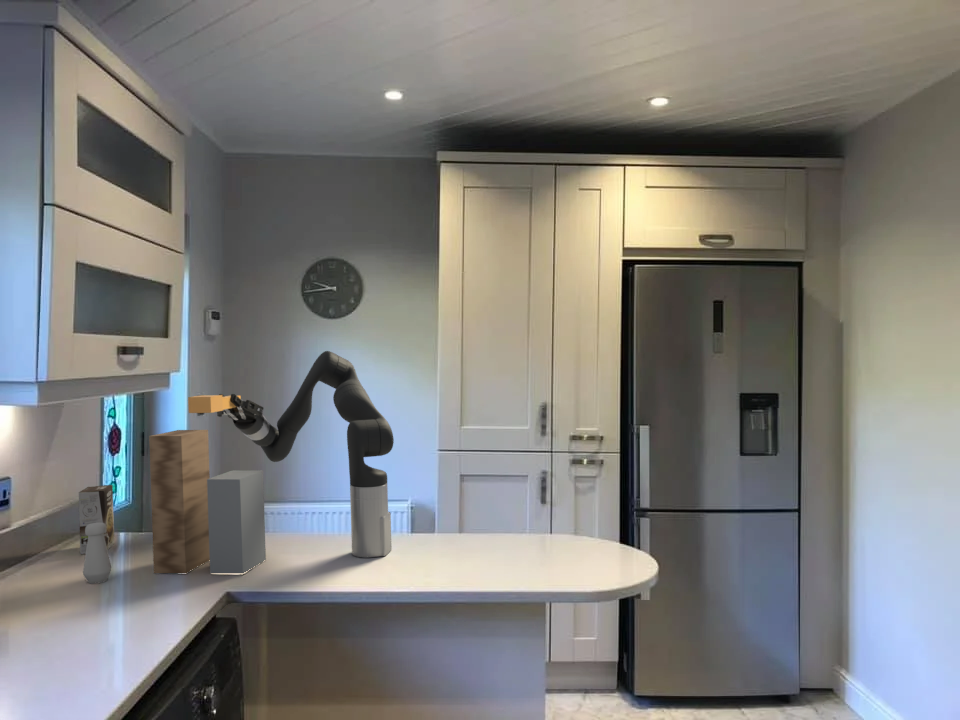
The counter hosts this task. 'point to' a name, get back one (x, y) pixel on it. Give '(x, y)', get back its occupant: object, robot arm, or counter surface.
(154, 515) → the tall wooden block
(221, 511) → the block
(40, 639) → the counter surface
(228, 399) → the orange block
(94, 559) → the salt shaker
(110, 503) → the coffee box
